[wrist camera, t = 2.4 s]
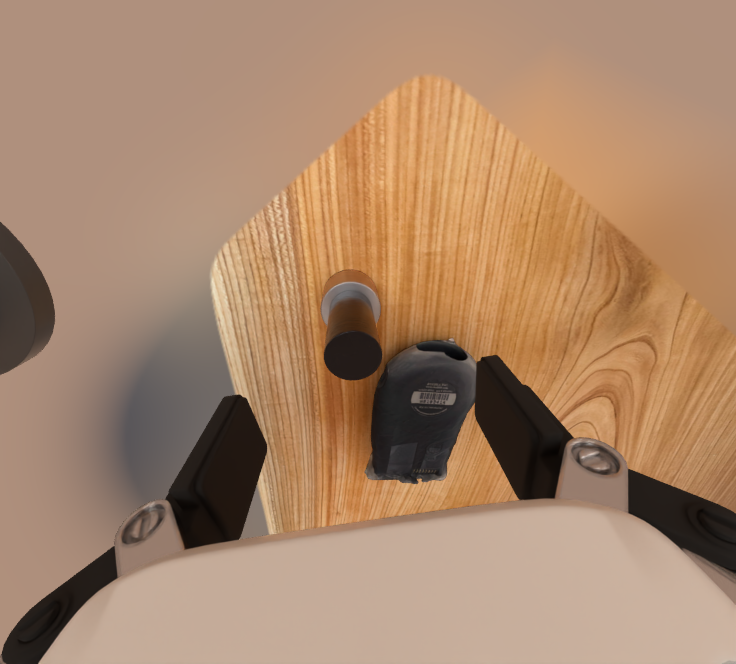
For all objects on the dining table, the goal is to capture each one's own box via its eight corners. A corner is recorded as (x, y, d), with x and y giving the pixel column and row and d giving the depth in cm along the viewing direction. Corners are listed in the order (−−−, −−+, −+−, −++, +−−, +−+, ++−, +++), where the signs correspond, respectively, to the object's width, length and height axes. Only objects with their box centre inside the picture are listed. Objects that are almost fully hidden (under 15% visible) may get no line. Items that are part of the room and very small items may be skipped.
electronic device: (445, 444, 33) (491, 341, 25) (453, 493, 29) (512, 388, 20) (366, 433, 33) (383, 327, 25) (361, 481, 29) (381, 371, 20)
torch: (316, 310, 23) (302, 378, 15) (333, 261, 21) (326, 308, 13) (365, 326, 24) (375, 397, 16) (385, 280, 22) (407, 334, 14)
